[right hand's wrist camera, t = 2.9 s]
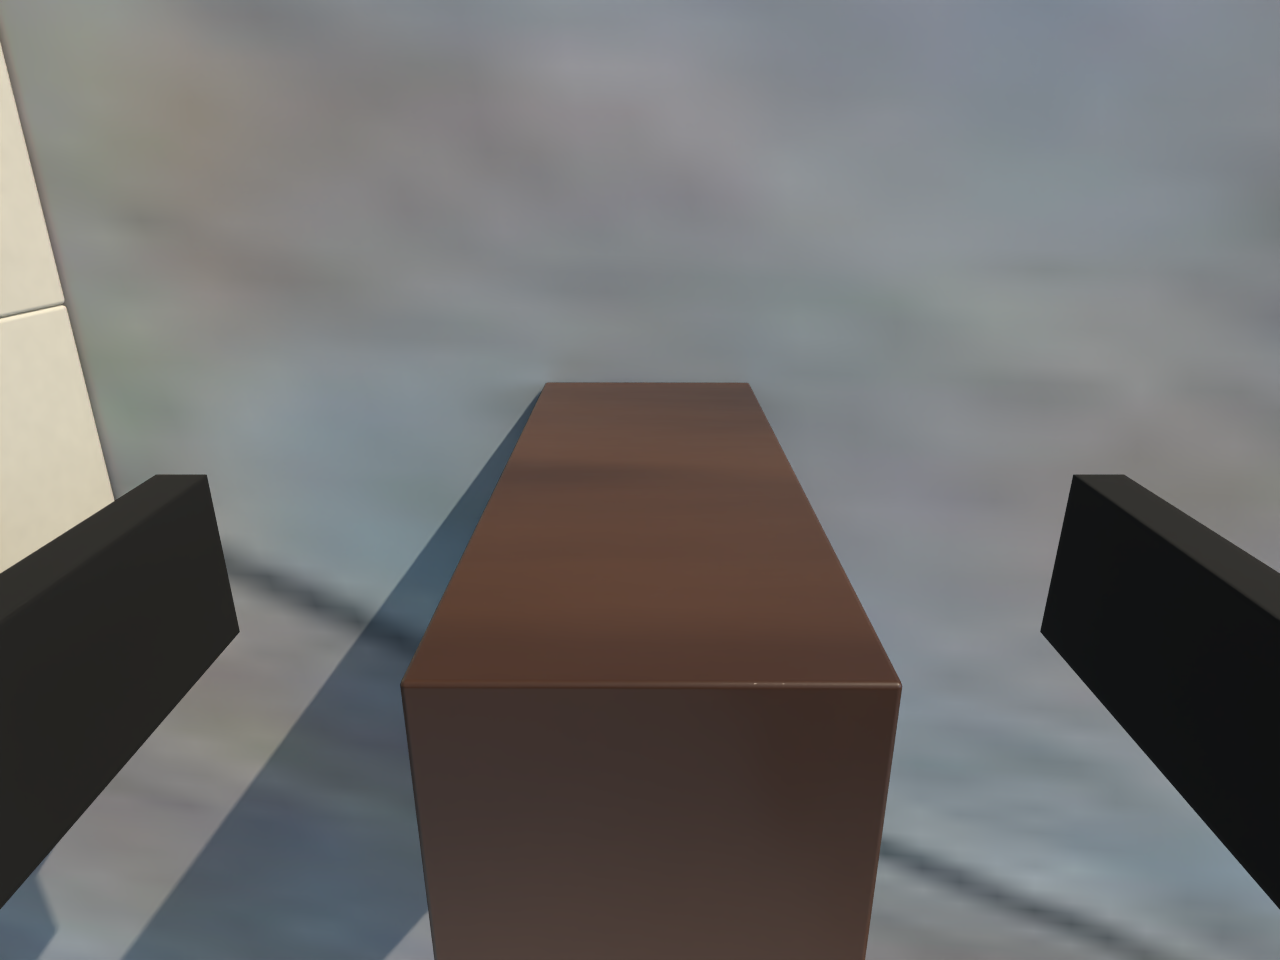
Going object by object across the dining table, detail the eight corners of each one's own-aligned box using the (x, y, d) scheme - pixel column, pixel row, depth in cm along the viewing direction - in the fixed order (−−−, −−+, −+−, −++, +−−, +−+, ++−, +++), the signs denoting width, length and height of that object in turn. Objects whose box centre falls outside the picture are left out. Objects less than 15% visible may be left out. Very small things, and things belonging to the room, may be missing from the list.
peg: (740, 565, 17) (857, 1037, 8) (552, 565, 17) (441, 1033, 8) (749, 382, 16) (904, 683, 6) (545, 381, 16) (396, 682, 6)
